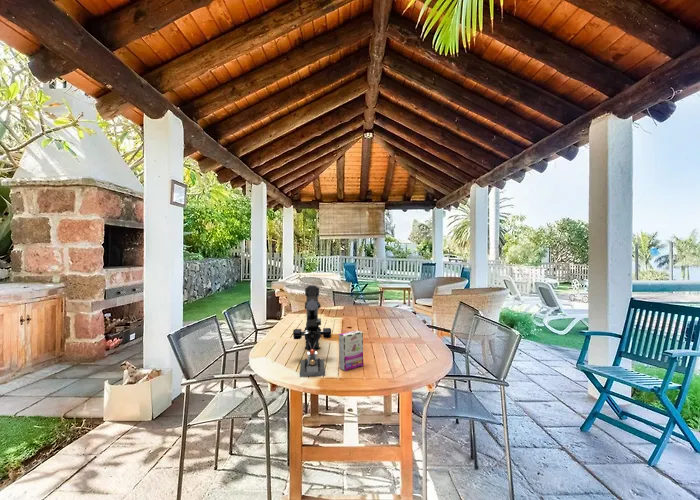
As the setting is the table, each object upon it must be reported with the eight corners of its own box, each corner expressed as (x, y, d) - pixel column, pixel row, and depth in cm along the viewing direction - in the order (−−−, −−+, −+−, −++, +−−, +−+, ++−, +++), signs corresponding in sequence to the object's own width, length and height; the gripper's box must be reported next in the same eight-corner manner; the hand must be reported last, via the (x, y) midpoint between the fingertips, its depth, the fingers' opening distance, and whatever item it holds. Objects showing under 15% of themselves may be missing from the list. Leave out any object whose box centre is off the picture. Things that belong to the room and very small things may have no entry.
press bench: (301, 363, 166) (301, 349, 166) (323, 362, 167) (323, 348, 167) (299, 377, 149) (299, 361, 149) (324, 376, 151) (324, 360, 150)
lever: (308, 361, 158) (307, 347, 153) (316, 361, 158) (316, 347, 154) (308, 365, 156) (307, 352, 151) (316, 365, 156) (316, 352, 151)
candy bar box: (357, 363, 166) (357, 329, 166) (363, 366, 162) (363, 332, 162) (338, 368, 160) (338, 333, 160) (344, 371, 156) (344, 335, 156)
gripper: (293, 313, 169) (292, 341, 158) (330, 312, 171) (332, 340, 160) (294, 324, 177) (293, 353, 166) (330, 323, 179) (331, 351, 168)
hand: (312, 349), depth 165 cm, fingers closed
